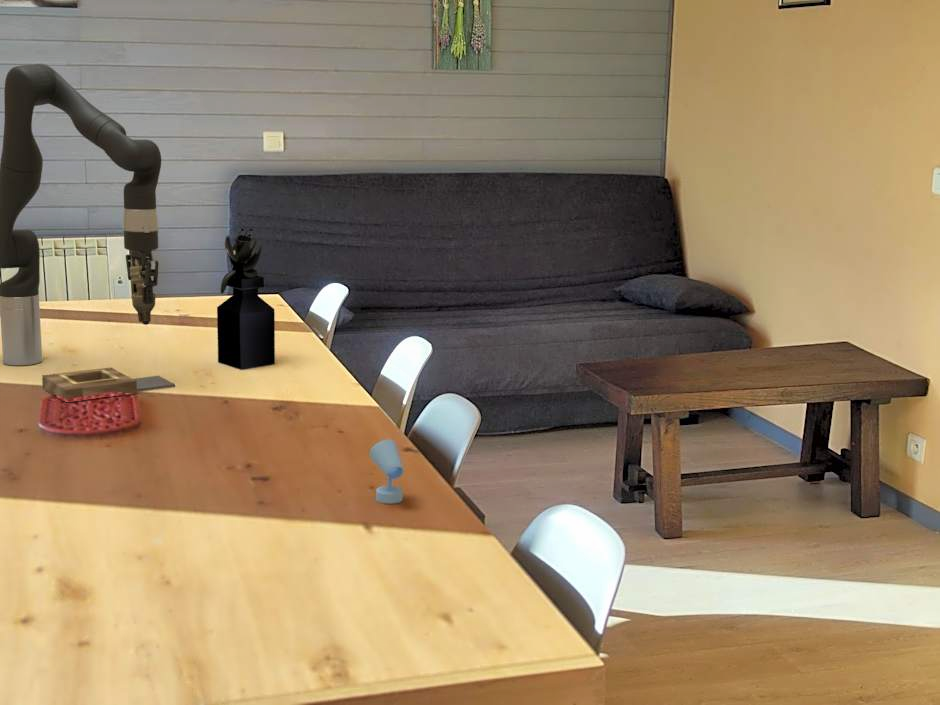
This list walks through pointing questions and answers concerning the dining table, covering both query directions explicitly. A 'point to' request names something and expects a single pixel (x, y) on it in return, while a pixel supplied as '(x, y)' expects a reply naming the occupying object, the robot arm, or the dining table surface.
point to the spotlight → (388, 470)
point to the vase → (245, 312)
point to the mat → (152, 383)
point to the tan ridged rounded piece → (140, 297)
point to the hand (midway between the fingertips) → (143, 301)
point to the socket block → (88, 383)
